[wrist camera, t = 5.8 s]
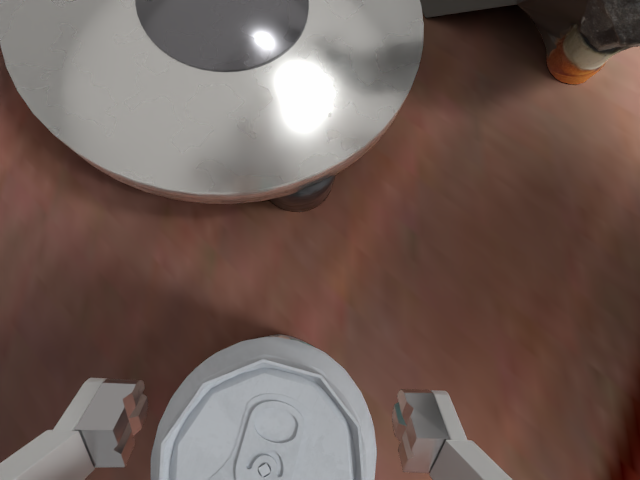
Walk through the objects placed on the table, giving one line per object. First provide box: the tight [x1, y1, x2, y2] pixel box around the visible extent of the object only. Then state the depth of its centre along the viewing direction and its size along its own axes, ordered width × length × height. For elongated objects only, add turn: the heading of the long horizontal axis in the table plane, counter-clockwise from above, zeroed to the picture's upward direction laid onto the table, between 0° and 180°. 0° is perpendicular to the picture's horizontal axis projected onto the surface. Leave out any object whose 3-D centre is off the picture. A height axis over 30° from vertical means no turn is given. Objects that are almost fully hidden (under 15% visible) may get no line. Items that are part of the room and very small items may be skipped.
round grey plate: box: [0, 0, 424, 212], centre depth 20 cm, size 22×22×6 cm
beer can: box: [151, 334, 377, 480], centre depth 12 cm, size 5×5×12 cm
